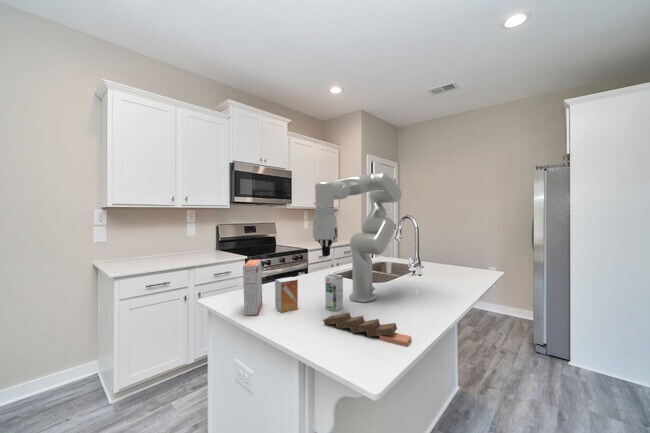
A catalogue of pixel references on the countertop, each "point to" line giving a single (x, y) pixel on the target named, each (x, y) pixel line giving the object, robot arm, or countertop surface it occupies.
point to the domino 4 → (383, 330)
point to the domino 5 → (396, 339)
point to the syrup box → (333, 292)
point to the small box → (286, 294)
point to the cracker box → (252, 287)
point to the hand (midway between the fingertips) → (326, 255)
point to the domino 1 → (337, 318)
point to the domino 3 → (366, 326)
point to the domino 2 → (351, 322)
